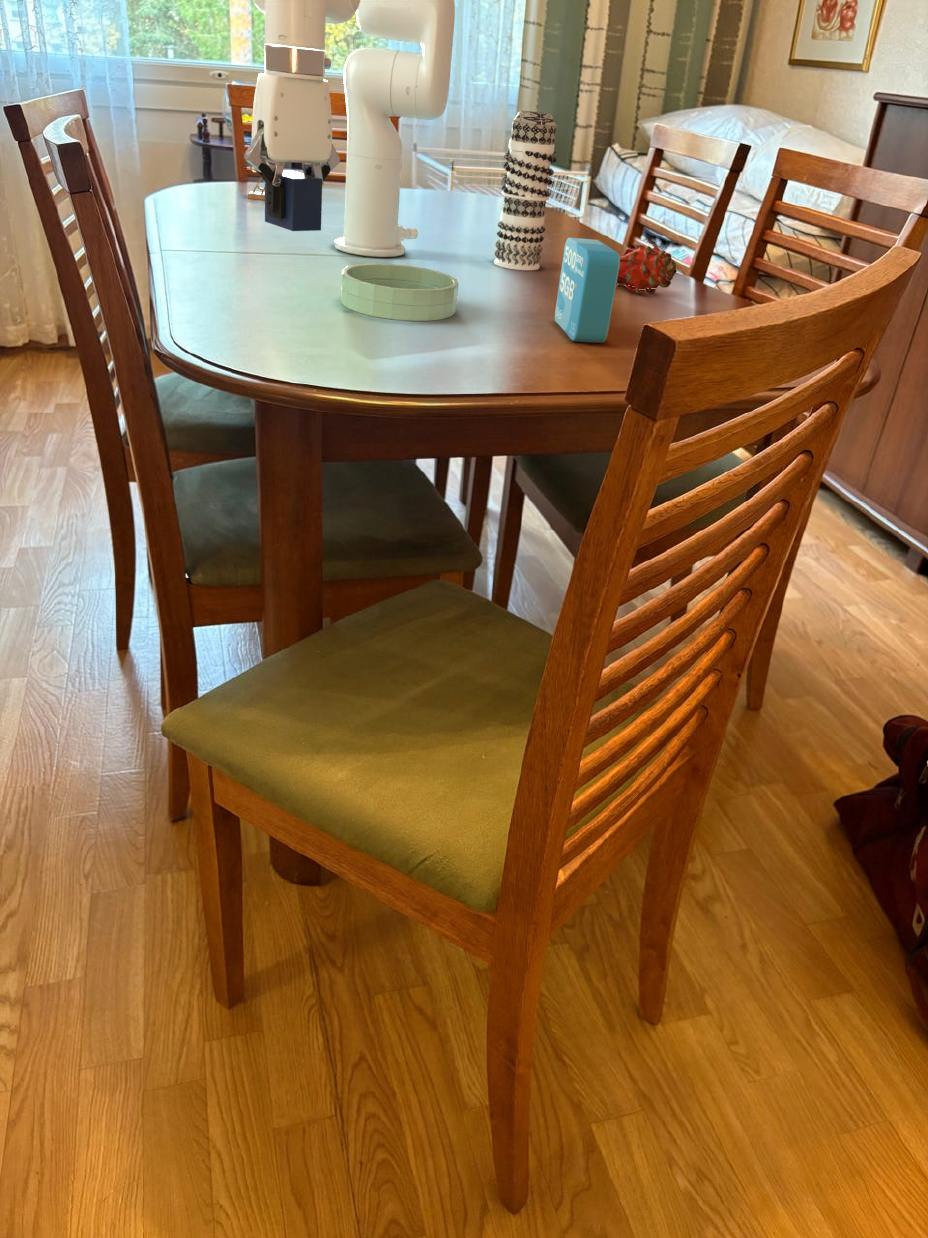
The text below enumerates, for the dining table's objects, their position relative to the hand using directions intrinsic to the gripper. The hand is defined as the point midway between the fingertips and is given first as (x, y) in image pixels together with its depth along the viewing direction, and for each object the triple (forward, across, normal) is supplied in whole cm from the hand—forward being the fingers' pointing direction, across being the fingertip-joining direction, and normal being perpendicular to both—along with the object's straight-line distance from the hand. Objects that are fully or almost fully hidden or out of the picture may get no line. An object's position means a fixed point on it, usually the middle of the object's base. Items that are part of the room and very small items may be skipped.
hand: (292, 215), depth 131 cm
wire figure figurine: (+11, -46, -79) cm, 92 cm away
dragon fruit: (+11, -62, +14) cm, 64 cm away
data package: (+11, -29, +30) cm, 43 cm away
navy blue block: (+1, 0, 0) cm, 1 cm away
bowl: (+11, -12, +10) cm, 19 cm away
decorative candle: (+11, -55, -9) cm, 57 cm away
